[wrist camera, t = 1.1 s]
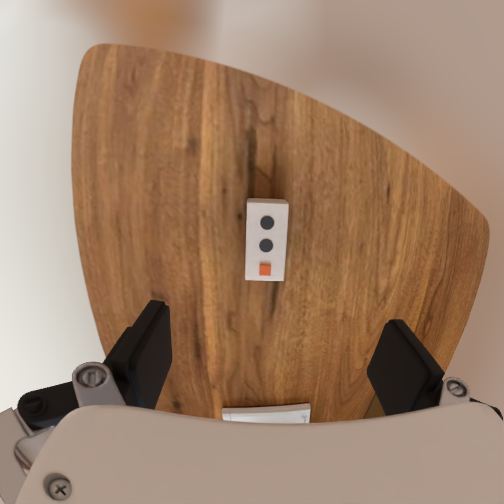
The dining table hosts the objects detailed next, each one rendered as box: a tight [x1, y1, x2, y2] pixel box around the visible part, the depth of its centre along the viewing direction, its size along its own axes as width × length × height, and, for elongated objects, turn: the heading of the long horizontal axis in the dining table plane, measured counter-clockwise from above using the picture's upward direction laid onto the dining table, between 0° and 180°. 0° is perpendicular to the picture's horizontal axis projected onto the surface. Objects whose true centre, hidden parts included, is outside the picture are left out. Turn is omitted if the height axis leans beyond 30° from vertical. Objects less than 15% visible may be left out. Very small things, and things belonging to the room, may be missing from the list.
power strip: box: [245, 198, 289, 281], centre depth 25 cm, size 4×7×3 cm, turn 178°
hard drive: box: [222, 403, 310, 423], centre depth 34 cm, size 2×8×12 cm
